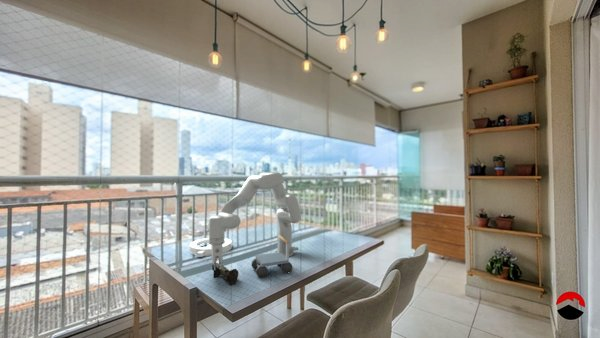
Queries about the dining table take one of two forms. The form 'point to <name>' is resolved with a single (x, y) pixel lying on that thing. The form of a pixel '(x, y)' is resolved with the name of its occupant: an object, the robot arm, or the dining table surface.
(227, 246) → the ring with crossbar
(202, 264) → the dining table surface
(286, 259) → the trolley
